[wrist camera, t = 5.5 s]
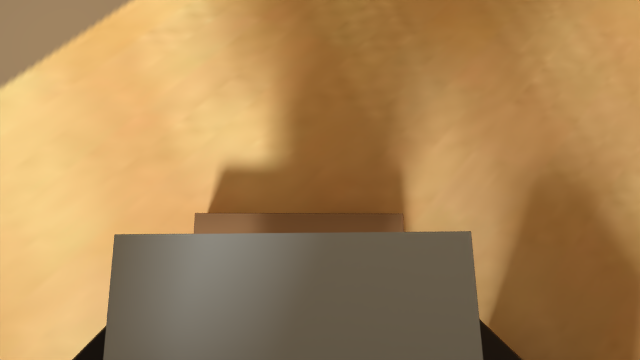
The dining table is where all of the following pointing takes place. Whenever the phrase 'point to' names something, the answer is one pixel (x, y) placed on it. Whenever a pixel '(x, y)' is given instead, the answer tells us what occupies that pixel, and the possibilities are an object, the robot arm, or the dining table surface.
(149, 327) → the tower block
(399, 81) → the dining table surface
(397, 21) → the dining table surface
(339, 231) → the base brick
